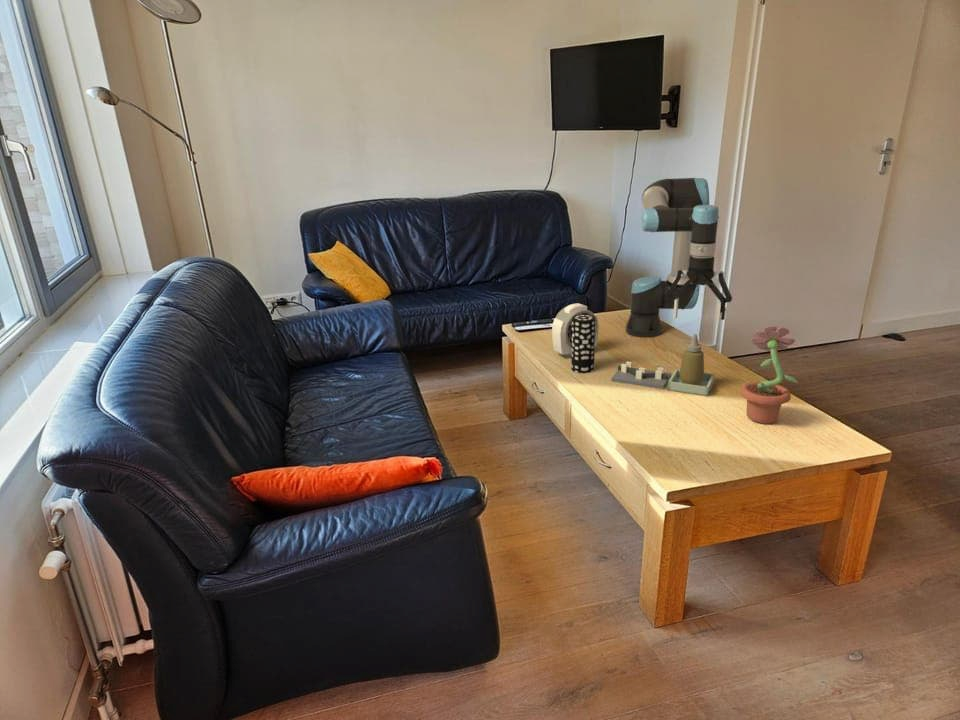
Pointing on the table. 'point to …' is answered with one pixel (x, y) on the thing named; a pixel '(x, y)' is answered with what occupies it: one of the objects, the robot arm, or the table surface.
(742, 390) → the decorative flower
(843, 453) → the table surface
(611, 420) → the table surface
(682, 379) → the squeeze bottle
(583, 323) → the white-spotted black cylinder
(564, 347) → the alarm clock
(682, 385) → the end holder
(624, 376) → the grey peg board
